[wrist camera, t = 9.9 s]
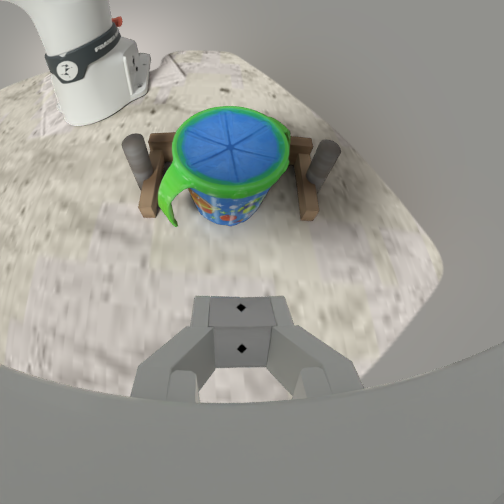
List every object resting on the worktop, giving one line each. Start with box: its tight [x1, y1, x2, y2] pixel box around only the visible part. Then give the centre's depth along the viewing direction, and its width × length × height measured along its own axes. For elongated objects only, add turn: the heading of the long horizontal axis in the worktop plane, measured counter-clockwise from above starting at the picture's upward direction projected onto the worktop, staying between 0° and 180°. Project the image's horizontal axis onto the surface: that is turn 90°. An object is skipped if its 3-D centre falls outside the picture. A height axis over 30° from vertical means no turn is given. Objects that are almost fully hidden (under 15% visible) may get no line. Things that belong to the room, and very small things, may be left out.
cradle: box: [122, 132, 341, 221], centre depth 29 cm, size 10×23×8 cm, turn 91°
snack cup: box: [158, 106, 291, 227], centre depth 27 cm, size 16×10×10 cm
